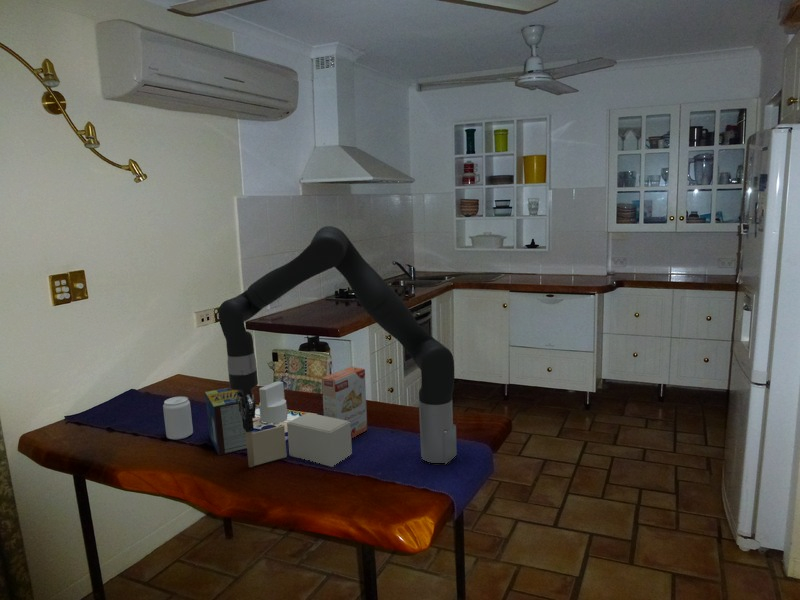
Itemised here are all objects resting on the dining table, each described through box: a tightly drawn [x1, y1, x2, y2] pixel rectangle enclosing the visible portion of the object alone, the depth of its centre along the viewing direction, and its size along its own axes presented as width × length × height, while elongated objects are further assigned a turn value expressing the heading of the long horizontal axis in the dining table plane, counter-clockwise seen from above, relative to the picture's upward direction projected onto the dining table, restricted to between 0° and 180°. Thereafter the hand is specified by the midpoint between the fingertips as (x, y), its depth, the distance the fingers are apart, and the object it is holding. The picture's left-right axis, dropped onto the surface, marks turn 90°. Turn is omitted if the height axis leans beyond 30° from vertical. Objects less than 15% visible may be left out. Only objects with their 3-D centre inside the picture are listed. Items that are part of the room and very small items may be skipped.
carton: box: [286, 412, 353, 468], centre depth 173 cm, size 16×9×10 cm, turn 58°
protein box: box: [204, 387, 253, 456], centre depth 184 cm, size 10×15×16 cm
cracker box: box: [321, 366, 368, 440], centre depth 184 cm, size 14×6×21 cm, turn 143°
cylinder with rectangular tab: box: [258, 380, 288, 424], centre depth 203 cm, size 9×9×12 cm
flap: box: [245, 424, 288, 468], centre depth 169 cm, size 11×2×16 cm, turn 122°
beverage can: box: [162, 396, 194, 440], centre depth 191 cm, size 8×8×12 cm
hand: (248, 429), depth 166 cm, fingers closed, pressing on flap
